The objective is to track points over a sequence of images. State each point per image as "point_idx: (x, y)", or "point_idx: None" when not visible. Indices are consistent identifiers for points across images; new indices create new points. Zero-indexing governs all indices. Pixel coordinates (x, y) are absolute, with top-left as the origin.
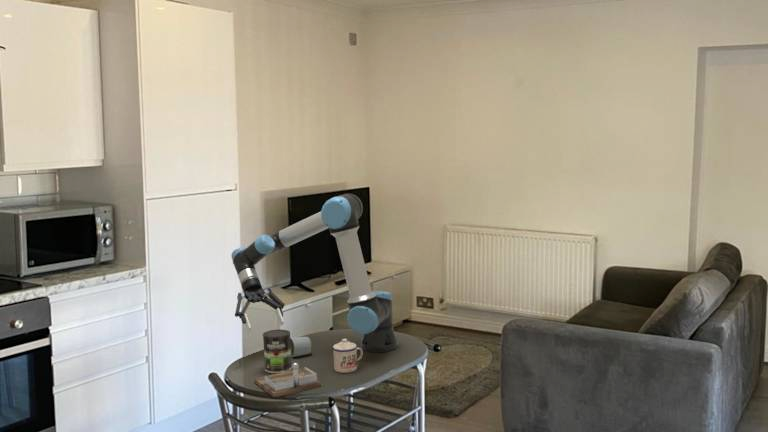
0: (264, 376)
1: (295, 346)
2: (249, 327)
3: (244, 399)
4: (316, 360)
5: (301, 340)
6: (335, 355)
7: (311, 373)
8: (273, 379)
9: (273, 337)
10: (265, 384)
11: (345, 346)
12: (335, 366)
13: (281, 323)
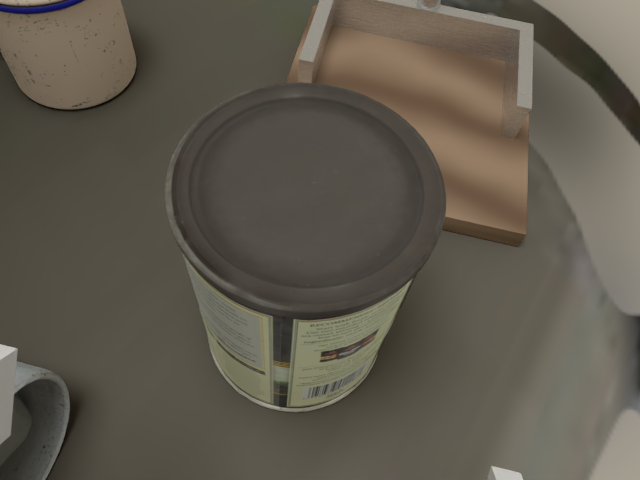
0: (466, 221)
1: (38, 368)
2: (516, 478)
3: (633, 127)
4: (31, 267)
5: None
6: (114, 4)
7: (332, 5)
8: (451, 156)
9: (401, 118)
10: (514, 137)
11: None
12: (127, 60)
13: (12, 389)
